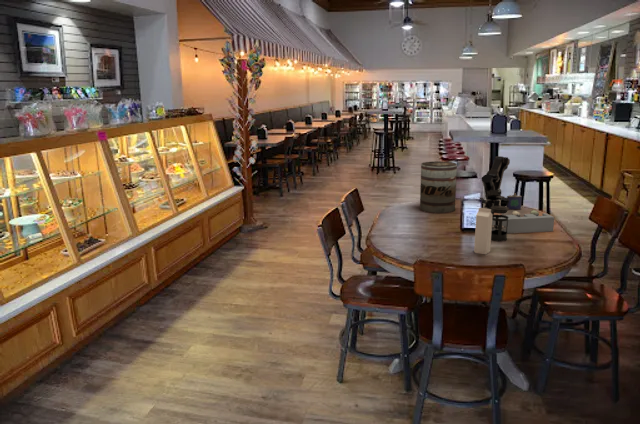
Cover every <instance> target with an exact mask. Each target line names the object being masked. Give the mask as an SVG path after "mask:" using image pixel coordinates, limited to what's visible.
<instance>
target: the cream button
mask: <svg viewBox="0 0 640 424" xmlns="http://www.w3.org/2000/svg"><path fill="white" fill-rule="evenodd" d="M511 215H515V216H517V217H521V212H520V211H518V210H512V212H511Z"/></svg>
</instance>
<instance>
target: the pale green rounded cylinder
mask: <svg viewBox="0 0 640 424" xmlns="http://www.w3.org/2000/svg"><path fill="white" fill-rule="evenodd" d="M529 214H533V215H536V216H540V212H539V211H537V210H535V209H534V210H533V209H532V210H531V211H530V213H529Z"/></svg>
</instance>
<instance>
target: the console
mask: <svg viewBox="0 0 640 424" xmlns="http://www.w3.org/2000/svg"><path fill="white" fill-rule="evenodd" d="M505 216H507V217H508V227H507V235H508V234H528V233H545V232H547V233H548V232H554V228H555V227H554V226H555V217H554V216H553V215H550V214H548V213H545V212H544V213H541V215H539V216H536V215H533V214H530V213H526V214H523V216H520V217H517V216H515V215H512V214H505ZM492 218H496V217H492ZM499 219H506V218H502V217H501V218H499ZM492 225H495V221H493V220H492ZM502 225H503V226H507V221H502ZM492 230H494V229H492ZM502 231H505V232H506V229H505V230H502Z"/></svg>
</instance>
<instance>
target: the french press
mask: <svg viewBox="0 0 640 424" xmlns="http://www.w3.org/2000/svg"><path fill="white" fill-rule="evenodd" d="M496 197H497V198H499V200H500V202H501V198H506V197H505V196H503V195H501V196H496ZM491 209H492V210H491V212H493V213H499V215H493V216H492V217H496V218H492V220H493V221H495V225H492V229H494V230H492V231H491V241H494V242H505V241H507V240H508V234H507V227H508V217H507V216H505V215H506V213H507V212H508V211H509V210H508V209H509V208H508V207H507V206H492V207H491ZM500 214H502V215H500ZM503 214H505V215H503ZM499 217H501V218H506V219H499ZM502 221H507V226H503V225H502ZM505 229H506V232H505V231H502V230H505Z"/></svg>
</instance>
